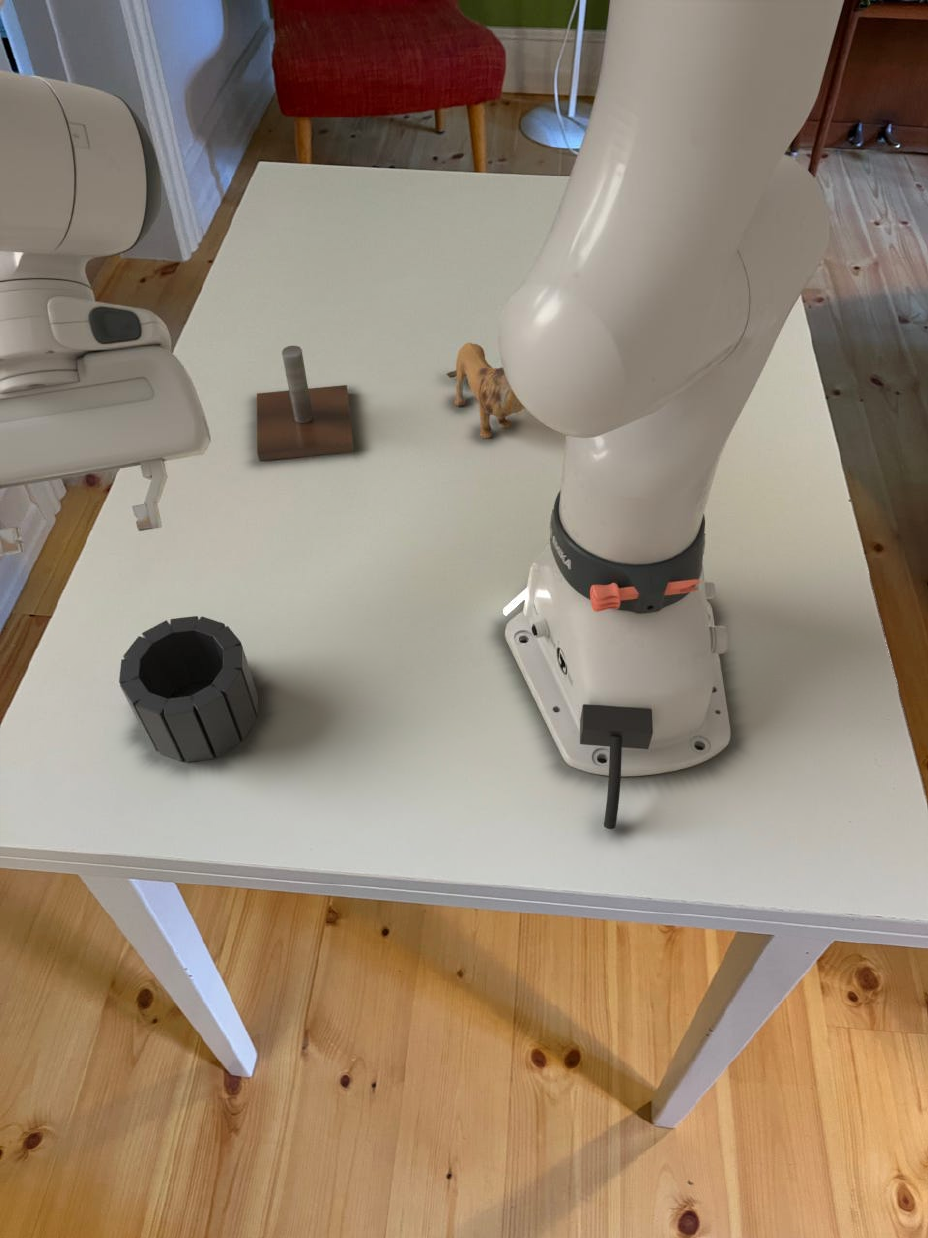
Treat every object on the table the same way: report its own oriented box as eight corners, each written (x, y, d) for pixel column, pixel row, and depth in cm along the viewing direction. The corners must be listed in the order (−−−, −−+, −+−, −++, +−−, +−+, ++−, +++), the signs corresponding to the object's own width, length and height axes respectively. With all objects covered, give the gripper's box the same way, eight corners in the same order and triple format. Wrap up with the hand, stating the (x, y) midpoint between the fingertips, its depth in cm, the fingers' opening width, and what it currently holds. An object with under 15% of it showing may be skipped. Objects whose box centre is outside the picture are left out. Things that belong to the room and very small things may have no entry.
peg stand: (354, 451, 99) (344, 376, 91) (259, 461, 98) (241, 386, 90) (347, 393, 105) (338, 318, 97) (258, 401, 104) (242, 327, 96)
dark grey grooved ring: (258, 753, 75) (241, 705, 70) (140, 768, 75) (114, 721, 69) (257, 661, 81) (242, 610, 76) (148, 674, 80) (124, 623, 75)
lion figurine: (541, 440, 100) (547, 369, 93) (501, 458, 98) (503, 388, 91) (465, 370, 107) (465, 301, 100) (426, 386, 105) (423, 317, 98)
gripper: (-150, 357, 59) (-95, 571, 60) (178, 309, 62) (222, 514, 63) (-107, 374, 65) (-58, 568, 67) (189, 329, 68) (229, 516, 70)
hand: (81, 541), depth 65 cm, fingers open, 8 cm apart
